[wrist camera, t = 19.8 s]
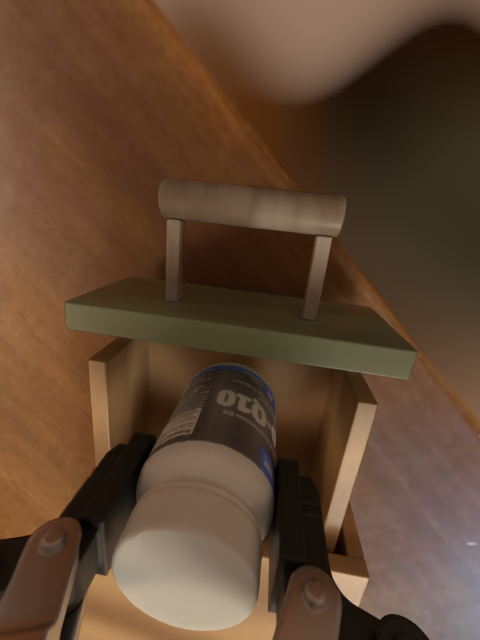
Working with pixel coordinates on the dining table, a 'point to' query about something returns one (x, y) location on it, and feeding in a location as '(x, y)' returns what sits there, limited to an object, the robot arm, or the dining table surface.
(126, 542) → the pill bottle
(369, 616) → the robot arm
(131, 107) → the dining table surface
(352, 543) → the cabinet
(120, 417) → the drawer
